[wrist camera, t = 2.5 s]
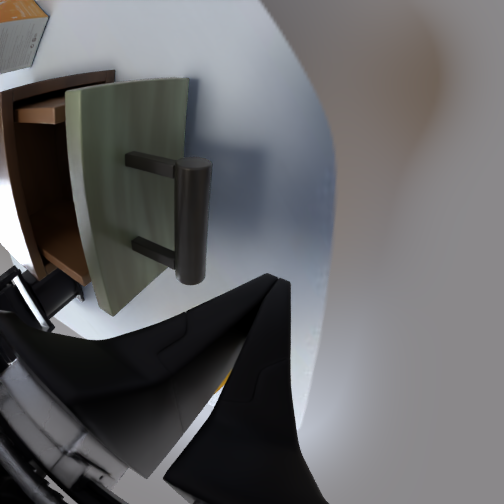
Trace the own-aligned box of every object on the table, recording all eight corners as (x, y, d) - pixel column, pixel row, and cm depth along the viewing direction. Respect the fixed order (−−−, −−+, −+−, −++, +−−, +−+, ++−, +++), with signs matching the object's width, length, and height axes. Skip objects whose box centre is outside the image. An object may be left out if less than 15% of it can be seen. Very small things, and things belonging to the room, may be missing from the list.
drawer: (265, 85, 12) (168, 88, 6) (237, 278, 18) (175, 355, 13) (60, 83, 16) (-12, 103, 11) (70, 205, 23) (13, 239, 18)
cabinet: (115, 69, 15) (0, 91, 8) (120, 225, 22) (39, 281, 16) (32, 83, 19) (-38, 106, 12) (42, 189, 26) (-17, 223, 20)
